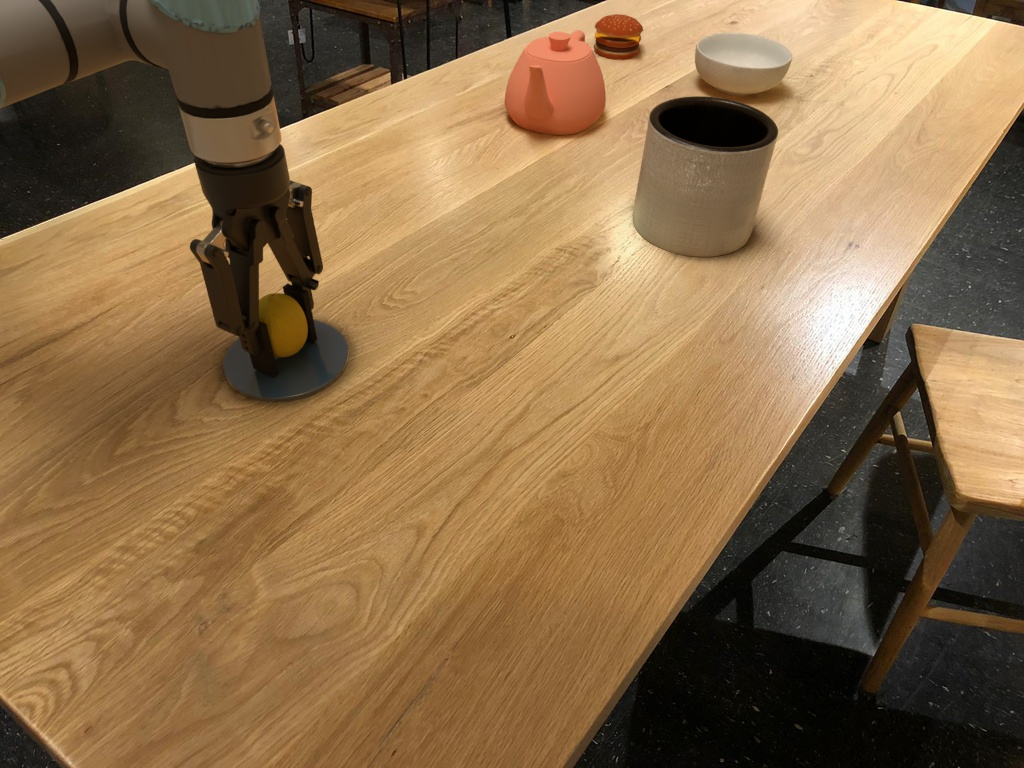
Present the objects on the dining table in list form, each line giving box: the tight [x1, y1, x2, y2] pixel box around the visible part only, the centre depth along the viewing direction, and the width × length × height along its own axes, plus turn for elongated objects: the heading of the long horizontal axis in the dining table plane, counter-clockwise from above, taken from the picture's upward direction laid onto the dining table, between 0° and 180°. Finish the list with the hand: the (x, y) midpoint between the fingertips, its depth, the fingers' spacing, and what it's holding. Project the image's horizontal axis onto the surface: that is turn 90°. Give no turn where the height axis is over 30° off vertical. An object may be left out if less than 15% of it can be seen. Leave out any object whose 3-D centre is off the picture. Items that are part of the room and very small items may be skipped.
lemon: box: [259, 292, 308, 357], centre depth 79 cm, size 6×6×8 cm
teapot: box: [504, 30, 607, 136], centre depth 125 cm, size 25×17×13 cm
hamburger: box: [593, 13, 644, 60], centre depth 151 cm, size 9×10×7 cm
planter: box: [632, 95, 779, 258], centre depth 99 cm, size 16×16×16 cm
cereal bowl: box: [694, 32, 793, 97], centre depth 139 cm, size 17×17×7 cm
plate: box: [222, 319, 350, 403], centre depth 82 cm, size 13×13×2 cm
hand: (285, 353), depth 81 cm, fingers closed on lemon, 5 cm apart
